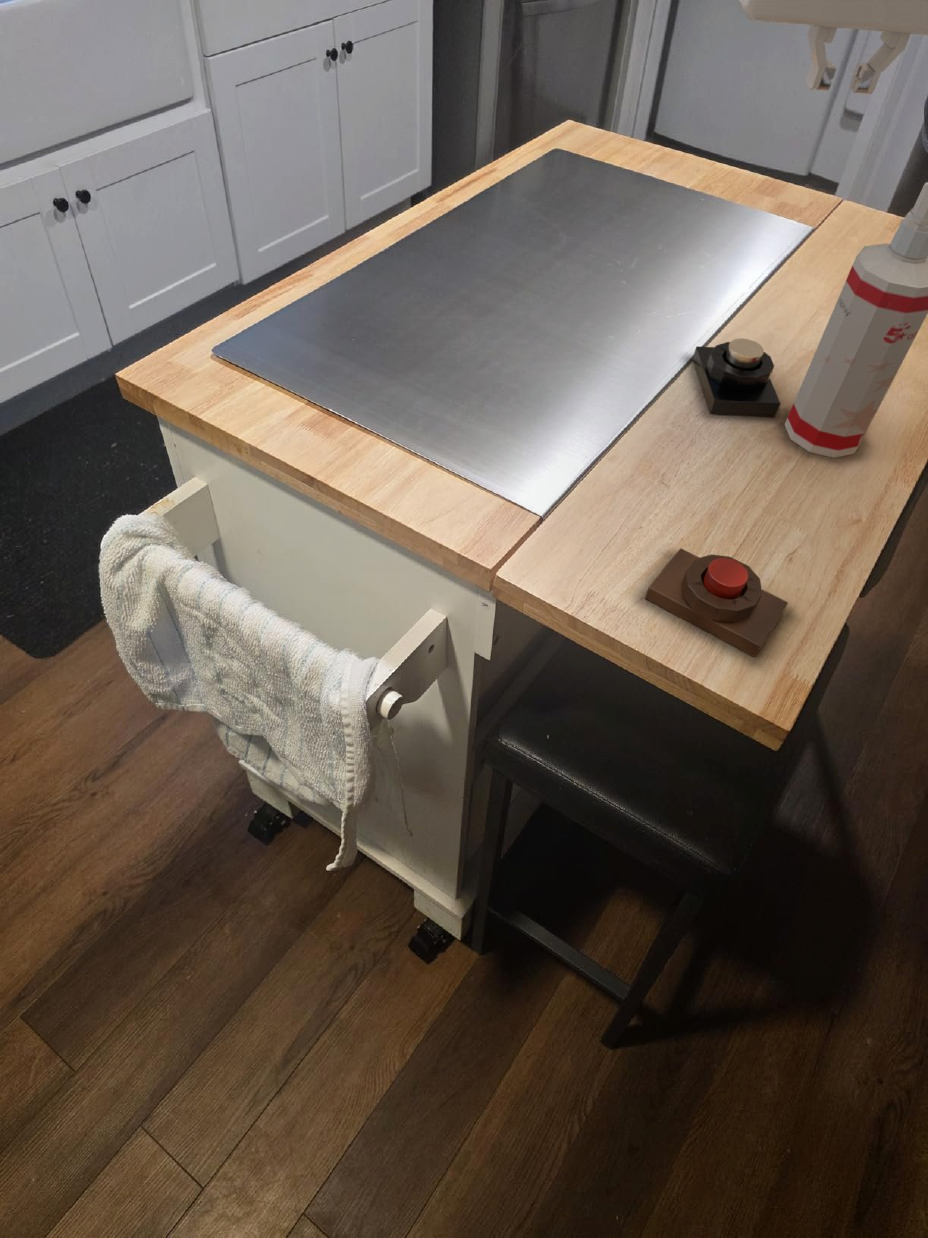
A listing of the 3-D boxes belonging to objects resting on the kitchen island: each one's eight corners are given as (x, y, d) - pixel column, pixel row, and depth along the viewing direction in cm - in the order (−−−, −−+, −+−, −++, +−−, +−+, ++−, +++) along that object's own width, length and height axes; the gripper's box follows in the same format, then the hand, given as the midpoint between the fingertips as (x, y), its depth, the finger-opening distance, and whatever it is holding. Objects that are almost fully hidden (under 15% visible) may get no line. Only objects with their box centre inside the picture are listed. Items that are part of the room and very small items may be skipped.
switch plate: (753, 362, 98) (763, 334, 95) (775, 417, 91) (786, 388, 89) (692, 359, 97) (700, 331, 95) (709, 413, 91) (719, 385, 88)
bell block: (782, 612, 73) (795, 588, 71) (754, 657, 70) (766, 633, 68) (676, 558, 77) (685, 534, 74) (644, 598, 73) (652, 574, 71)
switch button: (753, 353, 93) (759, 339, 92) (762, 373, 91) (767, 358, 90) (721, 351, 93) (726, 337, 92) (728, 371, 91) (733, 356, 89)
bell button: (748, 582, 72) (754, 569, 70) (732, 605, 70) (738, 592, 69) (713, 564, 73) (718, 551, 72) (696, 587, 71) (702, 573, 70)
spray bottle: (801, 401, 94) (907, 157, 75) (868, 429, 91) (996, 183, 72) (775, 437, 89) (880, 186, 70) (845, 467, 87) (974, 216, 68)
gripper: (784, -131, 59) (724, 94, 70) (1071, -105, 60) (969, 112, 71) (762, -149, 63) (708, 66, 74) (1031, -124, 65) (940, 84, 75)
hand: (838, 89), depth 72 cm, fingers closed
